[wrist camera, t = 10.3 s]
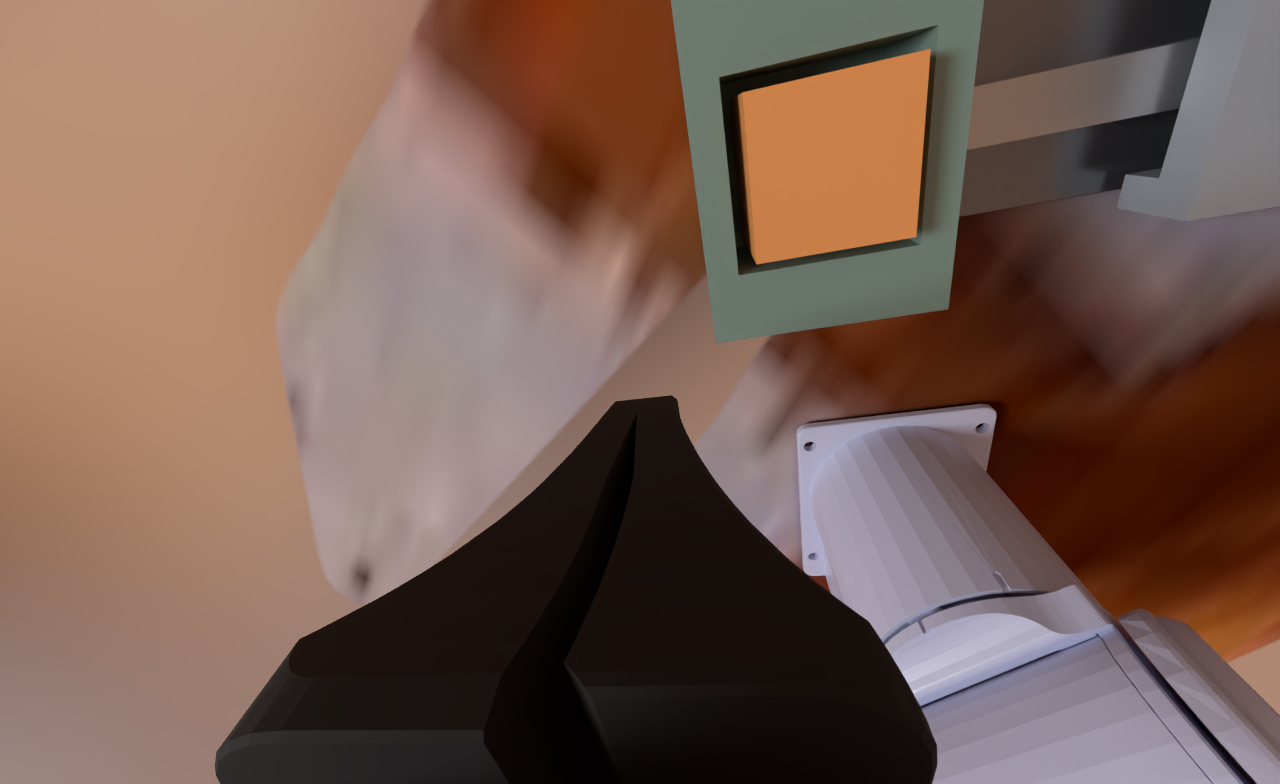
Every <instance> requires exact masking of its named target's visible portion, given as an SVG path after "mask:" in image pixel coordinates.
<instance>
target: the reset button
mask: <svg viewBox="0 0 1280 784" xmlns="http://www.w3.org/2000/svg"><path fill="white" fill-rule="evenodd" d="M930 52H931V49H928V50H923V51H919V52H915V53H910V54H906V55H902V56H897V57H893V58H889V59H885V60H880V61H876V62H872V63H867V64H863V65H859V66H854V67H850V68H846V69H841V70H837V71H833V72H828V73H824V74H820V75H816V76H811V77H807V78H803V79H798V80H794V81H790V82H785V83H781V84H777V85H772V86H768V87H764V88H759V89H755V90H751V91H747V92H742V93H741V94H739V95H737V96H735V97H734V98H732V99H730V100H729V102H730V113H731V124H732V134H733V145H734V156H735V167H736V178H737V188H738V199H739V210H740V221H741V232H742V236H743V238H744V240H745V242H746V244H747V246H748V248H749V250H750V252H751V254H752V256H753V258H754V260H755V262H756V264H762V263H768V262H774V261H780V260H786V259H791V258H797V257H803V256H809V255H815V254H821V253H826V252H832V251H838V250H844V249H850V248H856V247H862V246H867V245H873V244H879V243H885V242H891V241H897V240H902V239H908V238H914V237H916V235H917V222H918V209H919V196H920V183H921V170H922V157H923V144H924V130H925V117H926V104H927V91H928V78H929V65H930Z"/></svg>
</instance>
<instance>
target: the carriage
mask: <svg viewBox="0 0 1280 784" xmlns="http://www.w3.org/2000/svg"><path fill="white" fill-rule="evenodd" d="M1274 207H1280V0H1211V4H1210V7H1209V11H1208V14H1207V17H1206V21H1205V24H1204V28H1203V31H1202V34H1201V38H1200V41H1199V45H1198V48H1197V51H1196V55H1195V58H1194V62H1193V65H1192V68H1191V72H1190V75H1189V78H1188V82H1187V85H1186V89H1185V92H1184V95H1183V99H1182V102H1181V106H1180V109H1179V112H1178V116H1177V119H1176V123H1175V126H1174V129H1173V133H1172V136H1171V140H1170V143H1169V146H1168V150H1167V153H1166V157H1165V160H1164V163H1163V167H1162V168H1159V169H1153V170H1148V171H1142V172H1137V173H1131V174H1125V178H1124V182H1123V185H1122V189H1121V193H1120V197H1119V201H1118V204H1117V209H1122V210H1127V211H1132V212H1137V213H1142V214H1148V215H1153V216H1158V217H1163V218H1168V219H1173V220H1178V221H1183V222H1188V221H1194V220H1200V219H1206V218H1213V217H1219V216H1225V215H1231V214H1237V213H1244V212H1250V211H1256V210H1262V209H1268V208H1274Z"/></svg>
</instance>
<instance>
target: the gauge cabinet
mask: <svg viewBox="0 0 1280 784" xmlns="http://www.w3.org/2000/svg"><path fill="white" fill-rule="evenodd" d="M983 4H984V0H671V5H672V13H673V21H674V29H675V37H676V44H677V52H678V60H679V67H680V75H681V83H682V90H683V98H684V105H685V113H686V121H687V128H688V136H689V143H690V151H691V159H692V166H693V174H694V181H695V189H696V197H697V204H698V212H699V219H700V227H701V235H702V242H703V250H704V257H705V265H706V273H707V279H708V288H709V295H710V302H711V310H712V317H713V324H714V331H715V339H716V343H719V342H727V341H733V340H741V339H747V338H754V337H761V336H768V335H775V334H782V333H789V332H795V331H802V330H809V329H816V328H823V327H830V326H837V325H843V324H850V323H857V322H864V321H871V320H878V319H885V318H891V317H898V316H905V315H912V314H919V313H926V312H933V311H939V310H946V309H948V308H949V299H950V290H951V282H952V273H953V264H954V256H955V247H956V238H957V230H958V221H959V212H960V204H961V195H962V186H963V178H964V169H965V160H966V152H967V143H968V134H969V126H970V117H971V108H972V100H973V91H974V82H975V74H976V65H977V56H978V48H979V39H980V30H981V22H982V13H983ZM928 49H931V52H930V65H929V78H928V91H927V104H926V117H925V130H924V144H923V157H922V170H921V183H920V196H919V209H918V222H917V235H916V237H914V238H908V239H902V240H897V241H891V242H885V243H879V244H873V245H867V246H862V247H856V248H850V249H844V250H838V251H832V252H826V253H821V254H815V255H809V256H803V257H797V258H791V259H786V260H780V261H774V262H768V263H762V264H756V262H755V260H754V258H753V256H752V254H751V252H750V250H749V248H748V246H747V244H746V242H745V240H744V238H743V236H742V232H741V221H740V210H739V199H738V188H737V178H736V167H735V156H734V145H733V134H732V124H731V113H730V102H729V100H730V99H732V98H734V97H735V96H737V95H739V94H741V93H742V92H747V91H751V90H755V89H759V88H764V87H768V86H772V85H777V84H781V83H785V82H790V81H794V80H798V79H803V78H807V77H811V76H816V75H820V74H824V73H828V72H833V71H837V70H841V69H846V68H850V67H854V66H859V65H863V64H867V63H872V62H876V61H880V60H885V59H889V58H893V57H897V56H902V55H906V54H910V53H915V52H919V51H923V50H928Z"/></svg>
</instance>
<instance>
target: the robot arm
mask: <svg viewBox="0 0 1280 784" xmlns="http://www.w3.org/2000/svg"><path fill="white" fill-rule="evenodd" d="M996 417H997V414H996V411H995V410H994V409H993V408H992V407H991V406H989V405H987V404H976V405H967V406H958V407H949V408H941V409H932V410H923V411H914V412H906V413H897V414H888V415H879V416H870V417H862V418H853V419H844V420H835V421H826V422H818V423H809V424H804V425H802V426H801V427H799V428H798V430H797V433H796V441H797V461H798V481H799V501H800V522H801V542H802V562H803V568H804V572H803V571H802V570H801V569H800V568H799V567H797V566H796V565H795V564H794V563H793V562H792V561H790V560H789V559H788V558H787V557H786V556H785V555H784V554H782V553H781V552H780V551H779V550H778V549H777V548H776V547H775V546H774V545H773V544H772V543H771V542H770V541H769V540H768V539H767V538H766V537H765V536H764V535H763V534H762V533H761V532H760V531H759V530H758V529H757V528H755V527H754V526H753V525H752V524H751V523H750V522H749V520H748V519H747V518H746V517H745V516H744V515H743V514H742V513H741V512H740V510H739V509H738V508H737V507H736V506H735V505H734V504H733V502H732V501H731V500H730V499H729V498H728V496H727V495H726V494H725V493H724V491H723V490H722V489H721V488H720V486H719V485H718V484H717V482H716V481H715V479H714V478H713V477H712V475H711V474H710V472H709V471H708V469H707V468H706V466H705V465H704V463H703V462H702V460H701V459H700V457H699V455H698V454H697V452H696V450H695V448H694V446H693V445H692V443H691V441H690V439H689V437H688V435H687V433H686V431H685V429H684V427H683V424H682V422H681V419H680V414H679V407H678V402H677V399H676V398H674V397H673V396H663V397H653V398H643V399H634V400H625V401H616V402H615V403H614V404H613V405H612V406H611V407H610V408H609V410H608V411H607V412H606V413H605V414H604V415H603V417H602V418H601V419H600V420H599V422H598V423H597V424H596V425H595V426H594V427H593V429H592V430H591V431H590V432H589V433H588V435H587V436H586V437H585V438H584V439H583V441H582V442H581V443H580V444H579V445H578V446H577V447H576V448H575V449H574V451H573V452H572V453H571V454H570V455H569V456H568V457H567V458H566V459H565V460H564V461H563V462H562V463H561V464H560V465H559V466H558V467H557V468H556V469H555V470H554V471H553V472H552V473H551V474H550V475H549V477H547V478H546V479H545V481H544V482H543V483H541V484H540V485H539V486H538V487H537V488H536V489H535V490H534V491H533V492H532V493H531V494H530V495H528V496H527V497H526V498H525V499H524V500H523V501H521V502H520V503H519V504H518V505H517V506H516V507H514V508H513V509H512V510H511V511H509V512H508V513H507V514H506V515H505V516H503V517H502V518H501V519H499V520H498V521H497V522H496V523H494V524H493V525H492V526H490V527H489V528H487V529H486V530H485V531H483V532H482V533H480V534H479V535H478V536H476V537H475V538H473V539H472V540H471V541H470V542H468V543H467V544H465V545H464V546H462V547H461V548H460V549H458V550H457V551H455V552H454V553H453V554H451V555H449V556H448V557H446V558H445V559H443V560H442V561H440V562H438V563H437V564H435V565H434V566H432V567H431V568H429V569H427V570H426V571H424V572H423V573H421V574H419V575H418V576H416V577H414V578H413V579H411V580H409V581H408V582H406V583H404V584H403V585H401V586H399V587H398V588H396V589H394V590H392V591H391V592H389V593H387V594H385V595H384V596H382V597H380V598H378V599H376V600H375V601H373V602H371V603H369V604H367V605H365V606H363V607H361V608H359V609H357V610H355V611H354V612H352V613H350V614H348V615H346V616H344V617H342V618H340V619H338V620H336V621H335V622H333V623H331V624H329V625H327V626H325V627H323V628H321V629H319V630H317V631H315V632H313V633H311V634H309V635H307V636H305V637H303V638H301V639H299V641H298V642H297V643H296V644H295V646H294V647H293V649H292V650H291V651H290V653H289V654H288V655H287V657H286V658H285V659H284V661H283V662H282V664H281V665H280V666H279V668H278V669H277V670H276V672H275V673H274V674H273V676H272V677H271V679H270V680H269V681H268V683H267V684H266V685H265V687H264V688H263V689H262V691H261V692H260V694H259V695H258V696H257V698H256V699H255V700H254V702H253V703H252V704H251V706H250V707H249V709H248V710H247V711H246V713H245V714H244V715H243V717H242V718H241V719H240V721H239V722H238V723H237V725H236V726H235V728H234V729H233V730H232V732H231V733H230V734H229V736H228V737H227V738H226V740H225V741H224V743H223V744H222V745H221V747H220V748H219V749H218V751H217V753H216V761H215V770H216V776H217V778H218V780H219V782H220V784H1280V715H1279V714H1278V713H1277V712H1276V711H1275V710H1274V709H1273V708H1272V707H1270V705H1269V704H1268V703H1267V702H1266V701H1265V700H1264V699H1263V698H1262V697H1261V696H1260V695H1259V694H1258V693H1256V691H1255V690H1253V689H1252V687H1251V686H1249V684H1247V683H1246V682H1245V681H1244V680H1243V679H1242V678H1241V677H1240V676H1239V675H1238V674H1237V673H1236V672H1235V671H1234V670H1233V669H1232V668H1231V667H1230V666H1229V665H1228V664H1227V663H1226V662H1225V661H1224V660H1223V659H1222V658H1221V657H1220V656H1219V655H1218V654H1217V653H1216V652H1215V651H1214V650H1213V649H1212V648H1211V647H1210V646H1209V645H1208V644H1207V643H1206V642H1205V641H1204V640H1203V639H1202V638H1201V637H1200V636H1199V635H1198V634H1197V633H1196V632H1195V631H1194V630H1193V629H1192V628H1191V627H1190V626H1189V625H1188V624H1186V623H1184V622H1181V621H1177V620H1173V619H1170V618H1166V617H1162V616H1159V617H1155V616H1154V615H1153V614H1152V613H1150V612H1149V611H1147V610H1144V609H1135V610H1133V611H1130V612H1128V613H1126V614H1123V615H1121V616H1119V621H1120V622H1121V623H1120V622H1119V621H1118V620H1117V619H1115V618H1114V617H1113V616H1112V615H1111V614H1110V613H1109V612H1108V611H1107V610H1106V609H1105V608H1103V607H1102V606H1101V605H1100V603H1099V602H1098V601H1097V600H1096V599H1095V598H1094V596H1093V595H1092V594H1091V593H1090V592H1089V591H1088V589H1087V588H1086V587H1085V586H1084V585H1083V584H1082V583H1081V581H1080V580H1079V579H1078V578H1077V577H1076V576H1075V574H1074V573H1073V572H1072V571H1071V570H1070V569H1069V567H1068V566H1067V565H1066V564H1065V563H1064V562H1063V561H1062V559H1061V558H1060V557H1059V556H1058V555H1057V554H1056V552H1055V551H1054V550H1053V549H1052V548H1051V547H1050V545H1049V544H1048V543H1047V542H1046V541H1045V540H1044V538H1043V537H1042V536H1041V535H1040V534H1039V533H1038V532H1037V530H1036V529H1035V528H1034V527H1033V526H1032V525H1031V523H1030V522H1029V521H1028V520H1027V519H1026V518H1025V516H1024V515H1023V514H1022V513H1021V512H1020V511H1019V509H1018V508H1017V507H1016V506H1015V505H1014V504H1013V503H1012V501H1011V500H1010V499H1009V498H1008V497H1007V496H1006V494H1005V493H1004V492H1003V491H1002V490H1001V489H1000V487H999V486H998V485H997V484H996V483H995V482H994V480H993V479H992V478H991V477H990V476H989V475H988V474H987V472H986V471H987V465H988V460H989V455H990V449H991V444H992V439H993V433H994V428H995V422H996ZM982 423H984V424H983V425H982V426H981V427H979V428H976V427H977V426H978V425H979V424H982ZM807 442H813V444H812V445H810V446H804V445H805V444H806V443H807ZM811 553H815V554H811ZM808 575H810V576H821V575H825V576H826V579H827V582H828V585H829V589H830V592H831V593H830V592H828V591H827V590H826V589H824V588H823V587H822V586H821V585H819V584H818V583H817V582H815V581H814V580H813V579H812V578H810V577H809V576H808Z"/></svg>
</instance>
